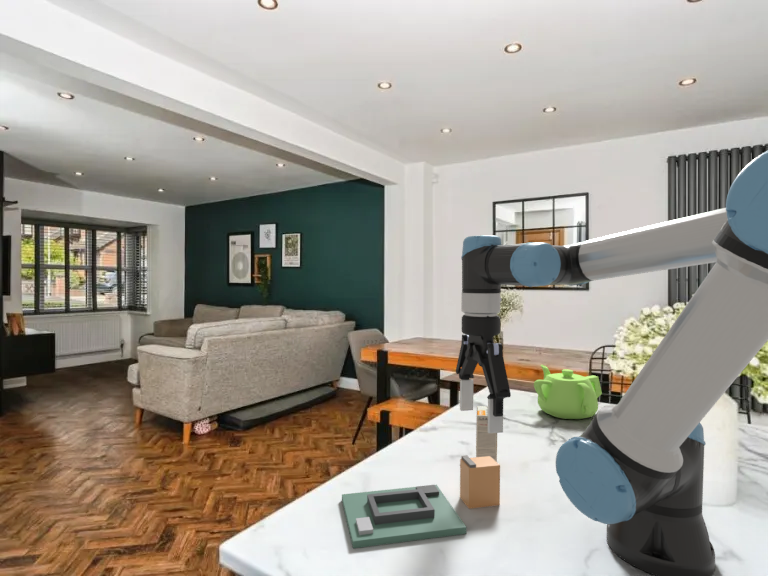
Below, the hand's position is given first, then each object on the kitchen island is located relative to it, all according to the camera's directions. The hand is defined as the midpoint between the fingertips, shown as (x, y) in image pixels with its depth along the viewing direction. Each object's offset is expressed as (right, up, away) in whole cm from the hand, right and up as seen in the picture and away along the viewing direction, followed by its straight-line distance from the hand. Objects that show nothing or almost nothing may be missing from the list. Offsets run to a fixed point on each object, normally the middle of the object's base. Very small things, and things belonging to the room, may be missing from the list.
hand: (479, 420), depth 88 cm
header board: (-16, -16, -5) cm, 24 cm away
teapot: (+40, -15, +58) cm, 72 cm away
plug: (0, -16, 0) cm, 16 cm away
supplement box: (+5, -16, +17) cm, 24 cm away
